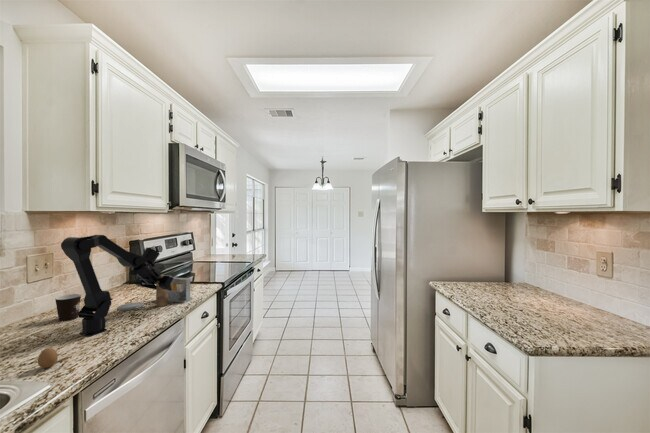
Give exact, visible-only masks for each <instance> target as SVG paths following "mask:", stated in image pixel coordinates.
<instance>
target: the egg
mask: <svg viewBox="0 0 650 433" xmlns="http://www.w3.org/2000/svg"><path fill="white" fill-rule="evenodd" d="M58 357H59V355H58V352H57V350H56V349H55V348H52V347H46V348H44V349H43V350H42V351H41V352H40V354H39V356H38V359H37V365H38V366H39V367H40V368H42V369H48V368H51V367H52V366H54V365H55V364H56V362H57V361H58Z"/></svg>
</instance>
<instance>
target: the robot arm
mask: <svg viewBox="0 0 650 433" xmlns="http://www.w3.org/2000/svg"><path fill="white" fill-rule="evenodd" d="M60 247H61V250H62V251H63V253H64V254H65V256H66V257H68V258H69V259H70V260H71V261H72V263H73V264H74V267H75V269H76V272H77V275H78V278H79V280H80V283H81V285H82V287H83V291H84V293H85V296H84V298H83V303H84V305H83V306H82V307H81V309H79V312H78V318H79V319H81V331H80V332H79V335H82V336H85V337H91V336H94V335H98V334H100V333H103V332H106V331H107V330H108V329H107V328H106V323H107V320H106V317H108V315H109V311H110V307H111V306H112V301H113V298H112V297H111V293H110V291H109V290H103V289H102V287H101V286H100V283H99V280H98V278H97V274H96V271H95V269H94V267H93V264H92V261H91V259H90V257H91V253H92V249H94V248H97V247H98V248H100V249H101V250H103V251H105V252H106V253H108V254H109V255H111V256H113V257H114V258H116V259H117V261H118V263H119V264H120V265H122V266H123V267H124V268H125V267H126V268H131V269H130V270H129V273H128V274H129V276H135V277H136V276H138V277H137V278H136V280H135V282H134V285H136V287H141V288H146V289H151V290H155V291H156V284H157V283H158V282H159V287H161V288H162V289H165V290H169V291H171V290H172V288H171V282H172V280H173V279H174V278H173V277H174V276H172V275H169V274H168V275H167V274H163V275H164V276H163V277H162V278H160V277H159V276H160V275H162V274H161V273H162V272H163V271H165V270H166V266H165V264H164V262H163V263H161V262H160V263H159V262H156V261H157V259H158V258H159V256H160V252H159V251H157V250H155V249H153V248H151V247H146V248H145V251H144V252H143V253H142V255H140V254H137V253H135V252H131V251H128V250H126V249H125V248H123V247H122V246H120V245H118V244H117V243H116V242H114V241H112V240H111V239H109V238H108V237H107V235H105V234H93V235H89V236H88V235H87V236H81V237H76V236H75V237H72V236H71V237H66V238H65V239H63V240H62V242H61V243H60ZM155 283H156V284H155Z"/></svg>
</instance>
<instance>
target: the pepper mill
mask: <svg viewBox="0 0 650 433" xmlns="http://www.w3.org/2000/svg"><path fill="white" fill-rule="evenodd" d="M164 275H165V274H161V275H160V276H159V277H160V278H162V277H163V276H164ZM155 285H156V290H155V298H156V299H155V305H156V308H164V307H167V306H169V301H168V290H165V289H162V288H161V287H159V282H156V284H155Z"/></svg>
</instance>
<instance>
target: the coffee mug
mask: <svg viewBox="0 0 650 433" xmlns="http://www.w3.org/2000/svg"><path fill="white" fill-rule="evenodd" d="M81 298H82V295H81V294H80V293H71V294H65V295H61V296H60V295H59V296H57V297H55V298H54V299H55V305H56V306H55V307H56V311H57V318H58V321H59V322H61V321H63V322H69V321H74V320H76V319H78V318H79V316H78V312H79V311H80V305H81V300H82V299H81Z"/></svg>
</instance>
